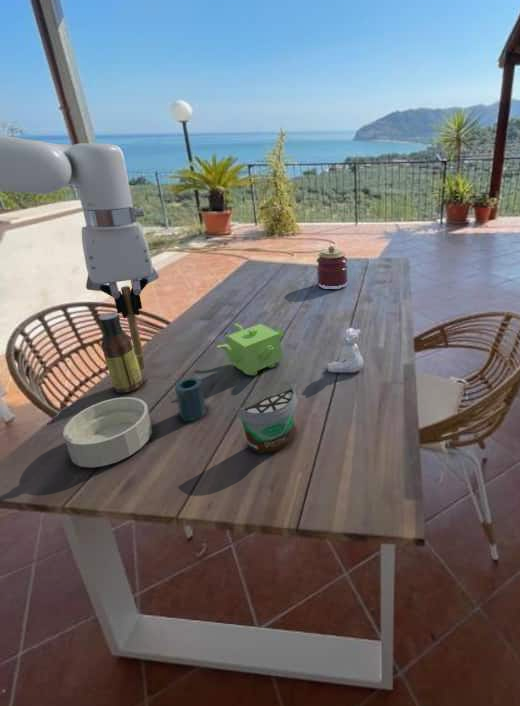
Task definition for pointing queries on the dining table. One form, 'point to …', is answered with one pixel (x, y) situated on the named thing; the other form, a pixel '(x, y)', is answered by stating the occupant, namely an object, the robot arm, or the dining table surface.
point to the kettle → (253, 348)
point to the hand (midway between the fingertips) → (130, 313)
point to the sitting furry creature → (348, 354)
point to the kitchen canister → (332, 267)
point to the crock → (190, 399)
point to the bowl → (108, 432)
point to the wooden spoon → (133, 325)
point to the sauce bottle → (119, 355)
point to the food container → (269, 422)
